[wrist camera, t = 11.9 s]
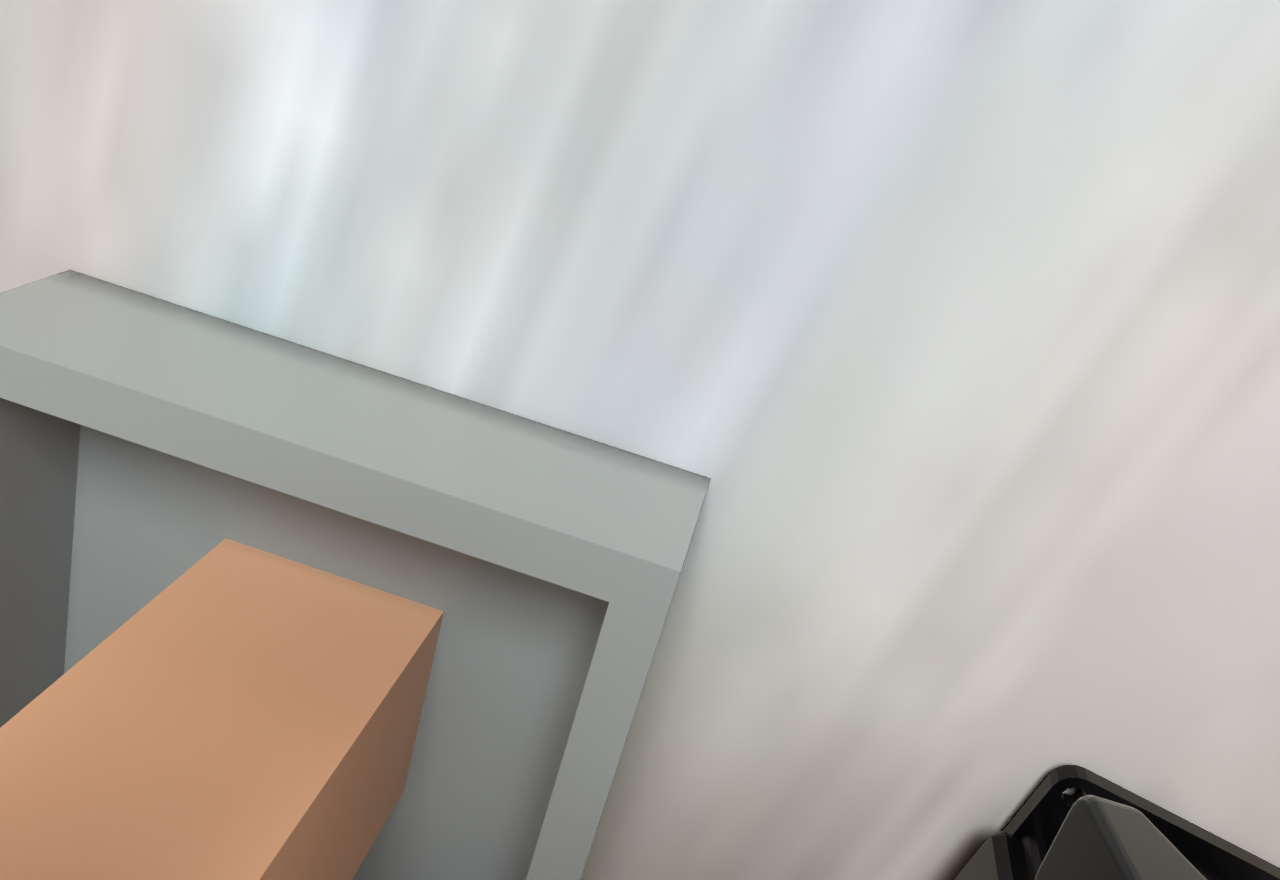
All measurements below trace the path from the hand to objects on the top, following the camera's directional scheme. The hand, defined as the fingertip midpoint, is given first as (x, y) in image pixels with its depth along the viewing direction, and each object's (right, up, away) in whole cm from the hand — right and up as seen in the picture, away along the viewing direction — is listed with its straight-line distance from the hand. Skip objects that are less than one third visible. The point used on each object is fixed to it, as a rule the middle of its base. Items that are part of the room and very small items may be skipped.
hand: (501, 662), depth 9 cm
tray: (-6, -3, +17) cm, 18 cm away
